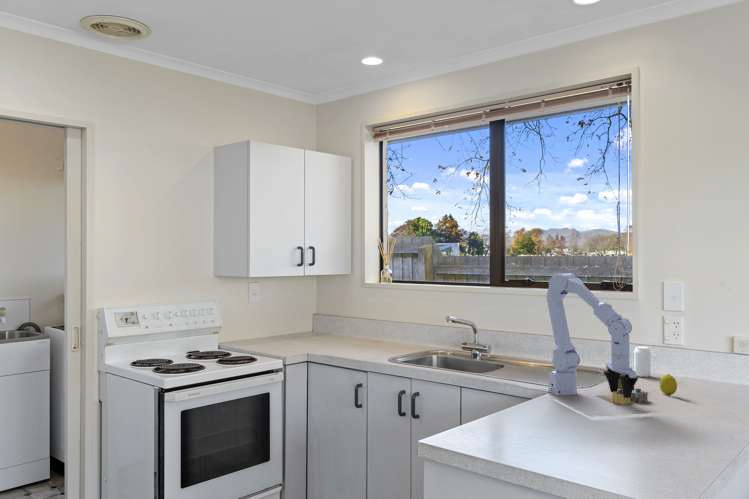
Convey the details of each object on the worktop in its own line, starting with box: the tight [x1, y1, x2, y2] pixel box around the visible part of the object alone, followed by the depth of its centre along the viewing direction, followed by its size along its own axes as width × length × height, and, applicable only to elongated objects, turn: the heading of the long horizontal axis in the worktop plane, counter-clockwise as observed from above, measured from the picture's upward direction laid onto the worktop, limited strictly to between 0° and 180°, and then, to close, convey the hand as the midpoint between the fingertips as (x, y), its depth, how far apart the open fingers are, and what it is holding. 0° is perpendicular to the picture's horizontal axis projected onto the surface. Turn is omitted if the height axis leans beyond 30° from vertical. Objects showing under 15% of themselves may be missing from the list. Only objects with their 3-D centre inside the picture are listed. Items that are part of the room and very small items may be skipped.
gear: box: [611, 391, 630, 405], centre depth 203 cm, size 5×5×3 cm
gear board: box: [596, 386, 653, 406], centre depth 206 cm, size 14×13×5 cm
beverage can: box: [633, 345, 652, 378], centre depth 247 cm, size 6×6×12 cm
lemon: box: [659, 373, 678, 397], centre depth 213 cm, size 6×6×8 cm
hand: (620, 394), depth 203 cm, fingers open, 7 cm apart
